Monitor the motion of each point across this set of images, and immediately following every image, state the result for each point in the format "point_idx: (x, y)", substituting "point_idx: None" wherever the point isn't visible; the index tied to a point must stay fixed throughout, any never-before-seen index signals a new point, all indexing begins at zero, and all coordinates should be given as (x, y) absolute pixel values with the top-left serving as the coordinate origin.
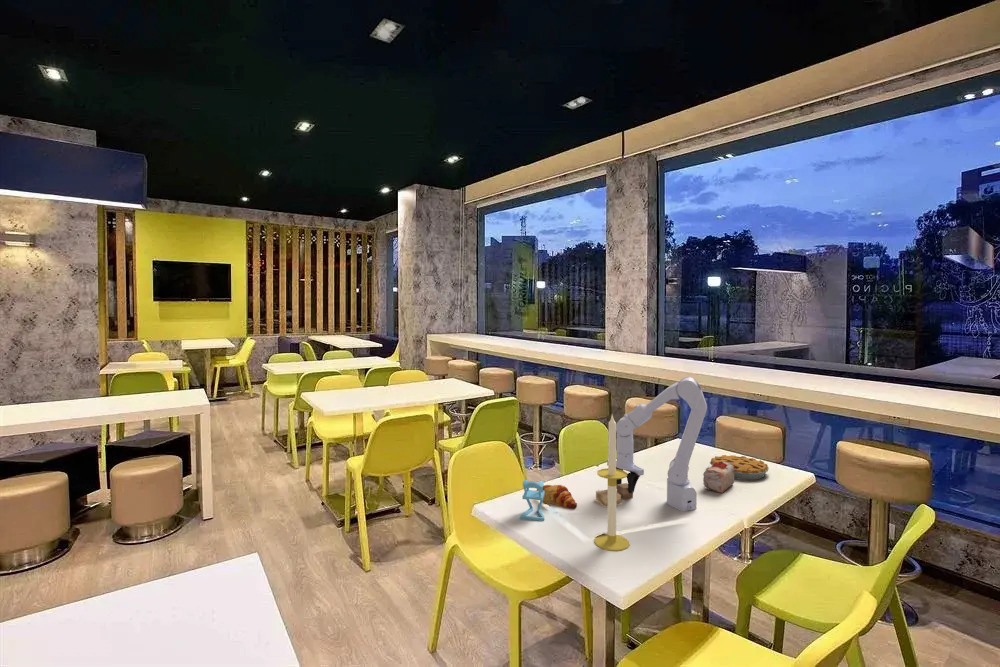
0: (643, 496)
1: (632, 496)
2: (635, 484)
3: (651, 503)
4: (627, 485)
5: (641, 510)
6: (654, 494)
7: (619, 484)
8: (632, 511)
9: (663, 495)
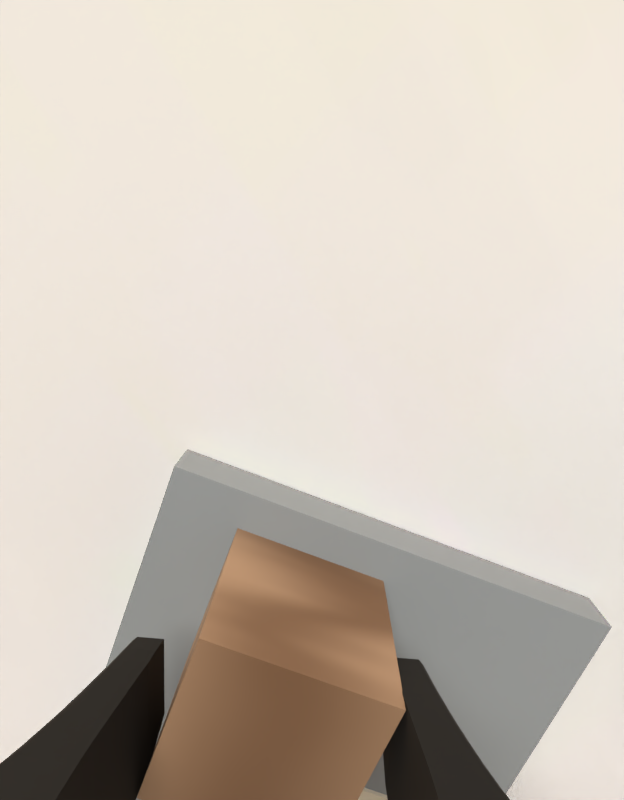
0: (381, 309)
1: (384, 602)
2: (482, 776)
3: (586, 448)
4: (296, 724)
5: (588, 694)
6: (459, 100)
7: (167, 770)
8: (526, 770)
9: (591, 21)
